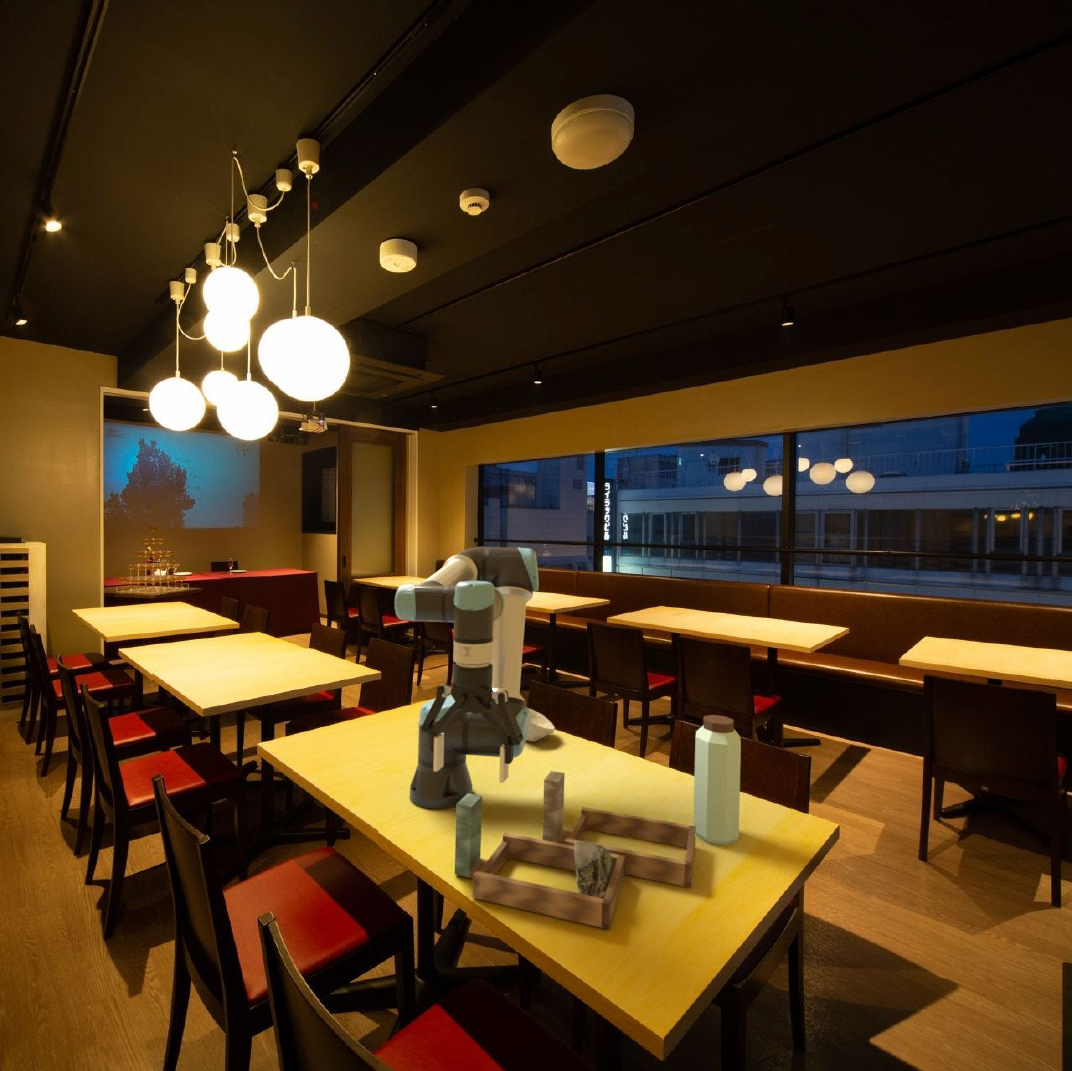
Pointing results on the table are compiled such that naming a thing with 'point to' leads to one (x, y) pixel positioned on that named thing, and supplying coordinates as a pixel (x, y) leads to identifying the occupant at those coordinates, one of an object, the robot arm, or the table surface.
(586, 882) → the stone
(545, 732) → the bowl
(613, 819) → the empty lane
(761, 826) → the table surface
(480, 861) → the frame
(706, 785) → the water bottle
